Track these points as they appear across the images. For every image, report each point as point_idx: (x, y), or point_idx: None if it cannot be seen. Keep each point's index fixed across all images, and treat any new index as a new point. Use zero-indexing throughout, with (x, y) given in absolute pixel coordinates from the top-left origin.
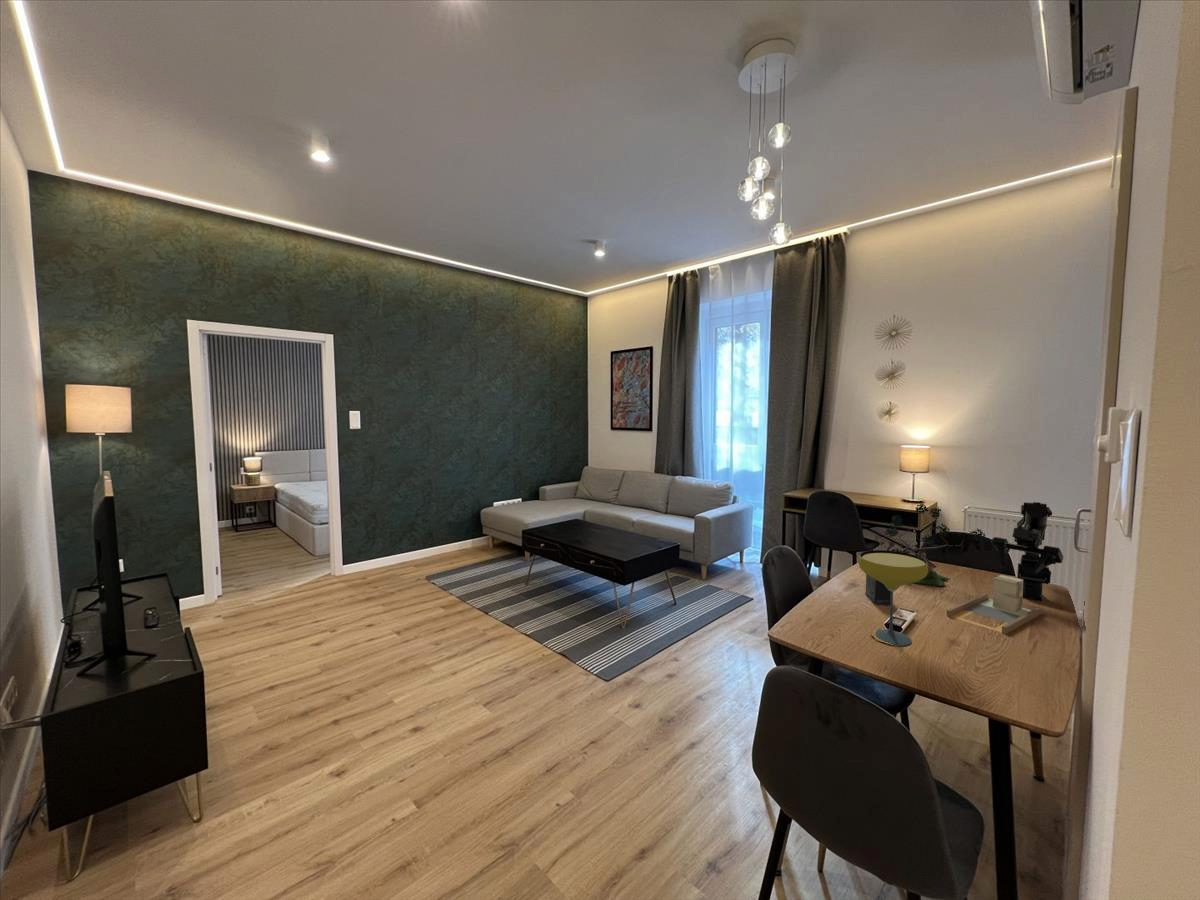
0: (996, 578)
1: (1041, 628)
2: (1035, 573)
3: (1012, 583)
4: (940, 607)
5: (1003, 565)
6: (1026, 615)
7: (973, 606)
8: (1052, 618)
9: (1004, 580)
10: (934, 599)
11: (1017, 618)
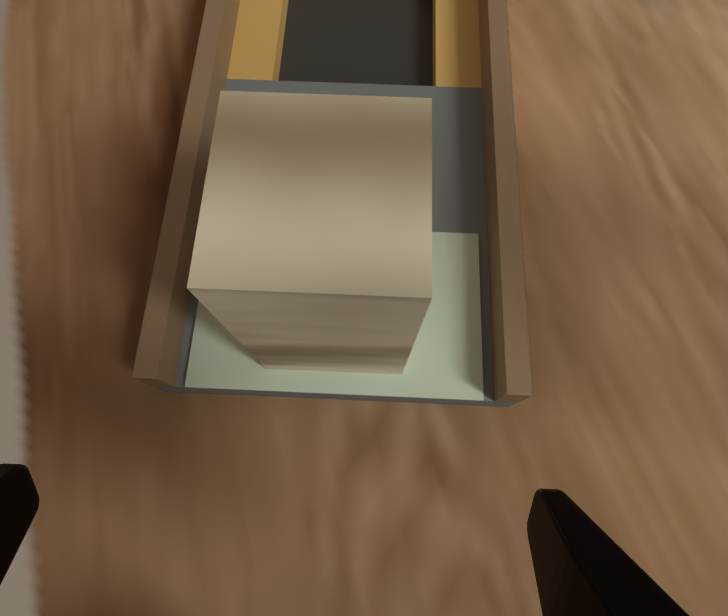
0: (409, 108)
1: (142, 208)
2: (24, 495)
3: (251, 99)
4: (602, 109)
5: (533, 559)
6: (184, 134)
7: (480, 176)
8: (113, 440)
9: (327, 98)
10: (704, 205)
11: (212, 56)
